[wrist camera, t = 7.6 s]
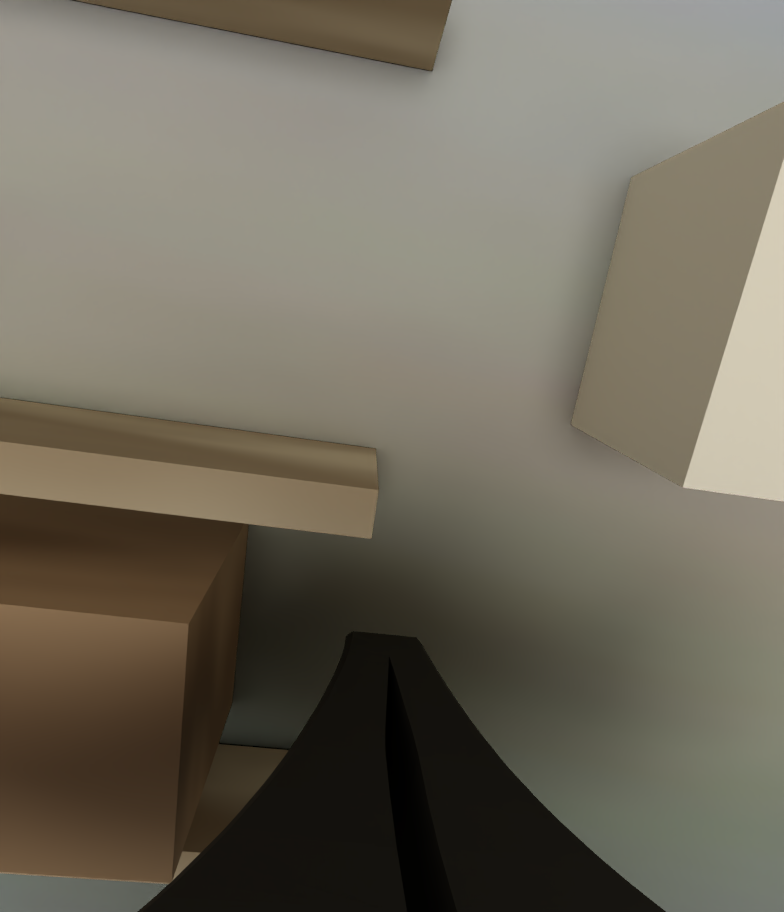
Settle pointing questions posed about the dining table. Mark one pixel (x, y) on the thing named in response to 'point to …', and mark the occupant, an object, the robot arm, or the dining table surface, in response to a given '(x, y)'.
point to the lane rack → (212, 448)
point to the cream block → (697, 318)
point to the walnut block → (111, 682)
